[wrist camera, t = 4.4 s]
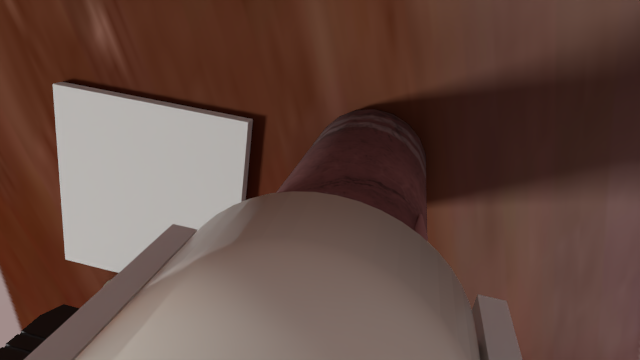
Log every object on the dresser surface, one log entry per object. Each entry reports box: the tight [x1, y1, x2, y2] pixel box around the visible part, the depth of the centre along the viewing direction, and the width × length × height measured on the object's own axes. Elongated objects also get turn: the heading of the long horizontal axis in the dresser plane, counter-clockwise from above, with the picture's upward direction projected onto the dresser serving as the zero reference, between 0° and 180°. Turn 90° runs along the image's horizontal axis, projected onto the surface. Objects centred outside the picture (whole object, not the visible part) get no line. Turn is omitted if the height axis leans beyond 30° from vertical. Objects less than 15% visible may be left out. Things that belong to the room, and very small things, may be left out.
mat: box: [53, 82, 253, 273], centre depth 29 cm, size 12×12×1 cm
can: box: [276, 109, 428, 241], centre depth 20 cm, size 6×6×14 cm
